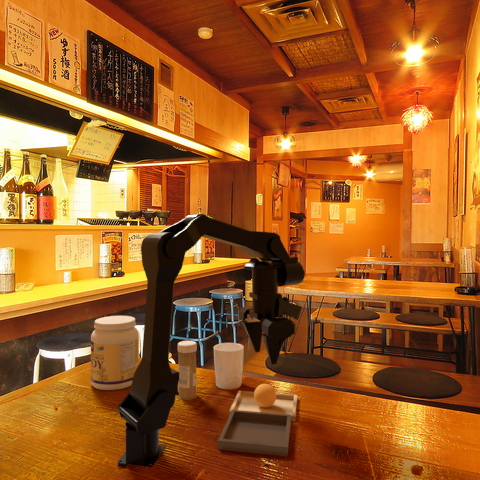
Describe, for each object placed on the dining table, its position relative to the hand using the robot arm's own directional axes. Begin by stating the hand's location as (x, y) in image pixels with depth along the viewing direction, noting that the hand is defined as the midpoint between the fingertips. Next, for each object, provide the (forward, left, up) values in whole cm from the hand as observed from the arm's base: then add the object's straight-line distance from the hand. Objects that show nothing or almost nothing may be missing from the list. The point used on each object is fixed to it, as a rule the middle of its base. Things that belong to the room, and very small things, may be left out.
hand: (265, 357), depth 86 cm
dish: (-13, 0, -12) cm, 17 cm away
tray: (0, 0, -12) cm, 12 cm away
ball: (0, 0, -11) cm, 11 cm away
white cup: (+12, +11, -12) cm, 20 cm away
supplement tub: (+8, +41, -12) cm, 44 cm away
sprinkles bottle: (+2, +19, -12) cm, 23 cm away
